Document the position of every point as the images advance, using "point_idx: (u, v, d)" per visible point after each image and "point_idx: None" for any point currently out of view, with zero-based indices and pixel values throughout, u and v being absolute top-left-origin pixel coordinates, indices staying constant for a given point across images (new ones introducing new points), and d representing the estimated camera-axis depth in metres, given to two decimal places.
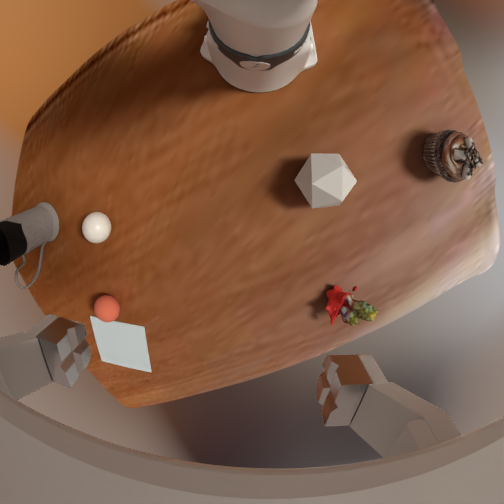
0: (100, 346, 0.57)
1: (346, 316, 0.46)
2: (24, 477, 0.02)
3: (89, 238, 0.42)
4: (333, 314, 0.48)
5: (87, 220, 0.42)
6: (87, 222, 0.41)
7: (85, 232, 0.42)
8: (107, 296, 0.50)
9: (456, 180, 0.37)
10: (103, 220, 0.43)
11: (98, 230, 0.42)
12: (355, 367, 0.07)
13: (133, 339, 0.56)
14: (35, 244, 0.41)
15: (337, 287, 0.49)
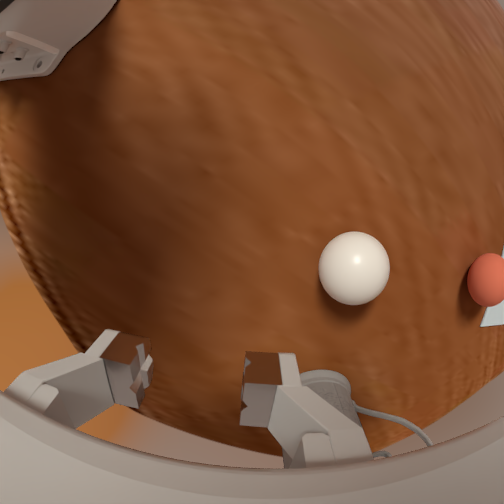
0: None
1: None
2: (24, 477, 0.02)
3: (380, 282, 0.18)
4: None
5: (337, 285, 0.19)
6: (343, 284, 0.18)
7: (366, 291, 0.18)
8: (473, 273, 0.21)
9: None
10: (342, 240, 0.19)
11: (366, 253, 0.18)
12: (269, 366, 0.07)
13: None
14: None
15: None
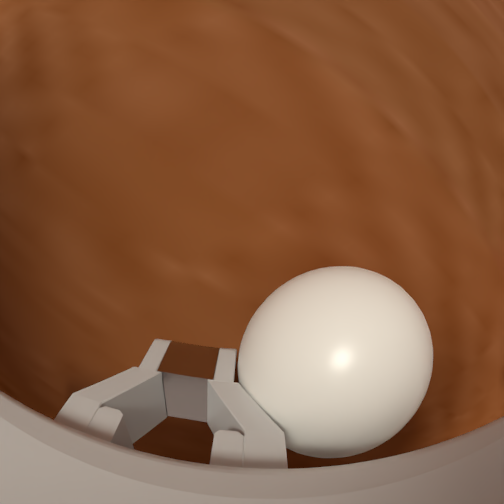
0: None
1: None
2: (24, 477, 0.02)
3: (407, 420, 0.05)
4: None
5: None
6: (293, 441, 0.05)
7: (361, 451, 0.05)
8: None
9: None
10: (294, 308, 0.06)
11: (373, 360, 0.05)
12: (205, 360, 0.07)
13: None
14: None
15: None
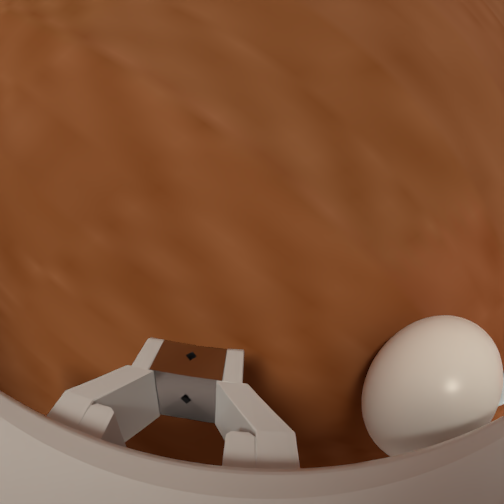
0: None
1: None
2: (24, 477, 0.02)
3: (366, 375, 0.09)
4: None
5: None
6: None
7: None
8: None
9: None
10: None
11: (408, 325, 0.09)
12: (213, 361, 0.07)
13: None
14: None
15: None
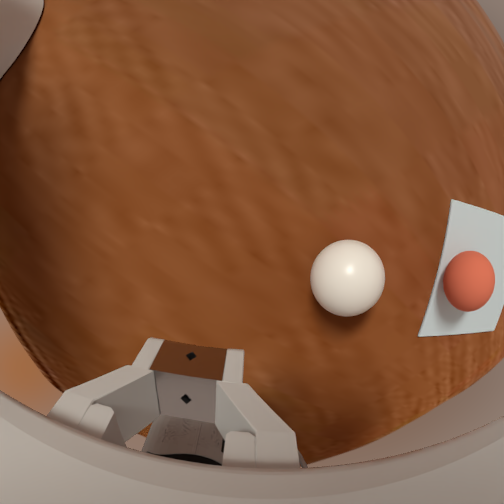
0: (474, 325, 0.24)
1: None
2: (24, 477, 0.02)
3: None
4: None
5: None
6: None
7: None
8: None
9: None
10: None
11: None
12: (213, 361, 0.07)
13: (473, 237, 0.21)
14: (215, 433, 0.18)
15: None
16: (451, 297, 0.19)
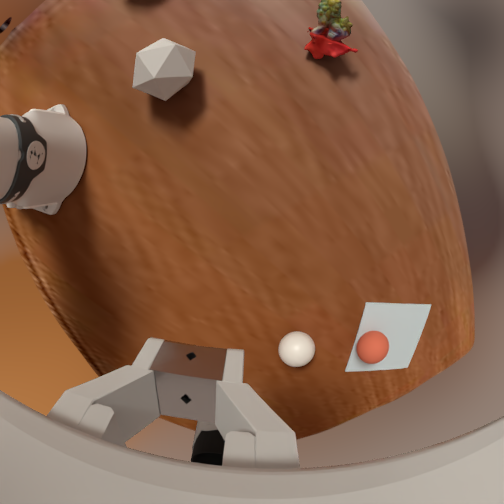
0: (388, 365, 0.45)
1: (340, 30, 0.26)
2: (24, 477, 0.02)
3: None
4: (341, 47, 0.28)
5: None
6: None
7: None
8: (387, 350, 0.39)
9: None
10: None
11: None
12: (213, 361, 0.07)
13: (383, 320, 0.42)
14: None
15: (306, 45, 0.30)
16: None
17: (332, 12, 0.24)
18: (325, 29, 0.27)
